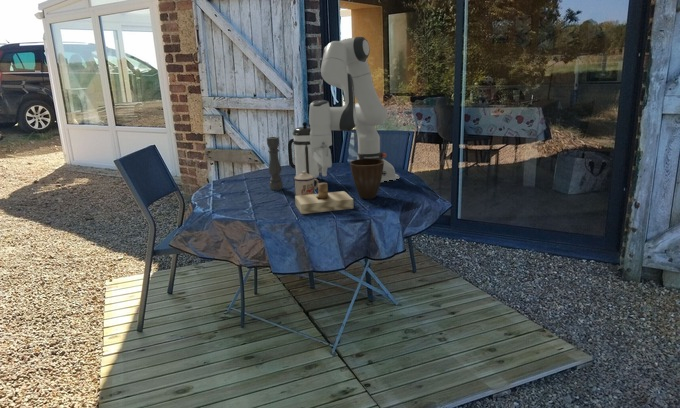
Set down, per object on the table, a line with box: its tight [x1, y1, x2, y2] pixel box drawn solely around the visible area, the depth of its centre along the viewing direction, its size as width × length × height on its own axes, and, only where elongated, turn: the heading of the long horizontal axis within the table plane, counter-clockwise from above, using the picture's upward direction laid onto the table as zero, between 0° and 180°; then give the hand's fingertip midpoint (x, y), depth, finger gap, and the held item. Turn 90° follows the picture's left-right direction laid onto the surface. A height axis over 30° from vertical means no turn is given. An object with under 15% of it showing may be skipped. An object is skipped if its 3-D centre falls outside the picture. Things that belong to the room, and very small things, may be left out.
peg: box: [317, 182, 329, 200], centre depth 205 cm, size 4×4×10 cm
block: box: [294, 190, 354, 215], centre depth 206 cm, size 22×14×4 cm, turn 105°
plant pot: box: [349, 159, 384, 200], centre depth 217 cm, size 15×15×16 cm
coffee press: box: [287, 121, 323, 182], centre depth 251 cm, size 17×16×30 cm
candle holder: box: [266, 136, 284, 191], centre depth 236 cm, size 6×6×25 cm
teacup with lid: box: [293, 171, 320, 196], centre depth 223 cm, size 12×9×12 cm
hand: (322, 174), depth 203 cm, fingers open, 5 cm apart
